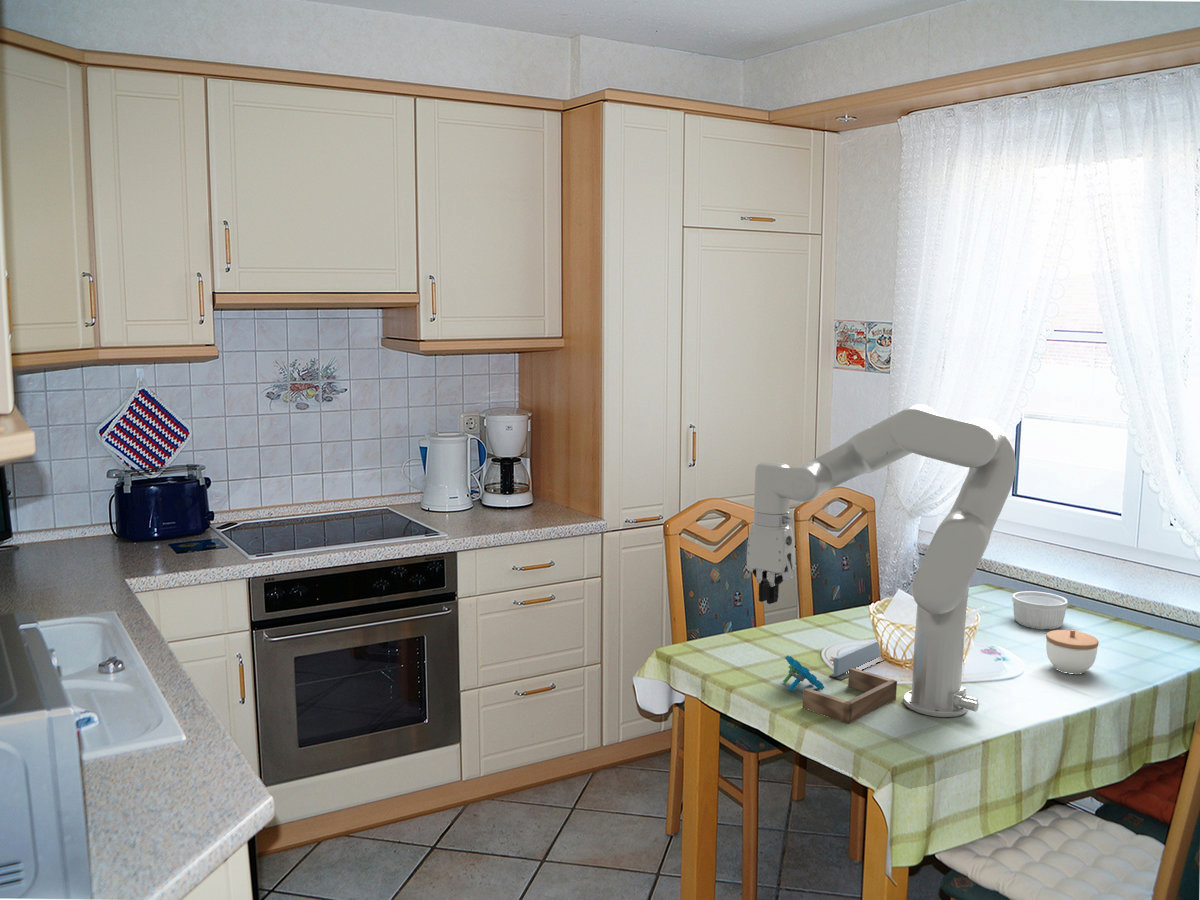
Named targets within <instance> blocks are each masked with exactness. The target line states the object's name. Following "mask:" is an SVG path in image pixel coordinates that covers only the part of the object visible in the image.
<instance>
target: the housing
mask: <svg viewBox="0 0 1200 900" xmlns="http://www.w3.org/2000/svg"><path fill="white" fill-rule="evenodd" d="M833 674H834V673H831V674H830V675H829V676H828V677H829V678H833V679H835V680H839V681H843V680H845V679H847V678H848V681H847V687H849V688H852V689H855V690H859V691H861V692H864V693H861V694H859V695H857V696H854V697H853V698H851V699H849V700H844V699H841V698H839V697H835V696H831V695H829V694H825V693H823V692H819V691H818V690H817V691H816V690H814V689H810V688H808V687H806V688H804V689H803V690H802V707H803V708H805V709H804V710H806V709H809V710H811V711H810V712H812V711H814V712H813V713H815V712H816V713H815V714H818V713H819V714H818V715H820V714H822V715H821V716H823V715H825V716H824V717H826V716H828V717H827V718H829V717H830V718H829V719H832V718H833V719H832V720H836V721H838V720H839V721H838V722H841V723H844V724H847V725H849V724H852V723H853V722H855V721H857V720H859V719H861V718H863V717H865V716H867V715H868V714H871V713H873V712H874V711H876V710H879V709H880V708H882V707H884V706H886V705H888V704H891V702H893V701H895V700H897V689H898V688H897V687H898V686H897V685H898V681H897V680H894V679H892V678H889V677H884V676H883V675H882V676H881V675H879V674H875V673H871V672H868V671H865V670H863V671H862V670H859V669H856V668H850V669H849V673H848V672H847V674H846V672H845V673H843V674H841V675H839V676H835V675H833ZM846 677H847V678H846ZM803 708H802V709H803ZM809 710H808V711H809Z"/></svg>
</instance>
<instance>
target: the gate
mask: <svg viewBox="0 0 1200 900" xmlns="http://www.w3.org/2000/svg"><path fill="white" fill-rule="evenodd" d="M877 639H878V638H876V639H873V640H871V641H869V642H867V643H864V644H863V645H861V646H858V647H856V648H853V649H851V650H848V651H847V652H844V653H841V654H839V655H837V656H835V657H834V658H833V673H832V674H833V675H835V676H839V675H841V674H843V673H845V672H848V671H849V669H850V668H856V667H859V666H861V665H863V664H865V663H867V662H870V661H872V660H874V659H876V658H878V657H881V648H880V649H879V644H878V641H877Z"/></svg>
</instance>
